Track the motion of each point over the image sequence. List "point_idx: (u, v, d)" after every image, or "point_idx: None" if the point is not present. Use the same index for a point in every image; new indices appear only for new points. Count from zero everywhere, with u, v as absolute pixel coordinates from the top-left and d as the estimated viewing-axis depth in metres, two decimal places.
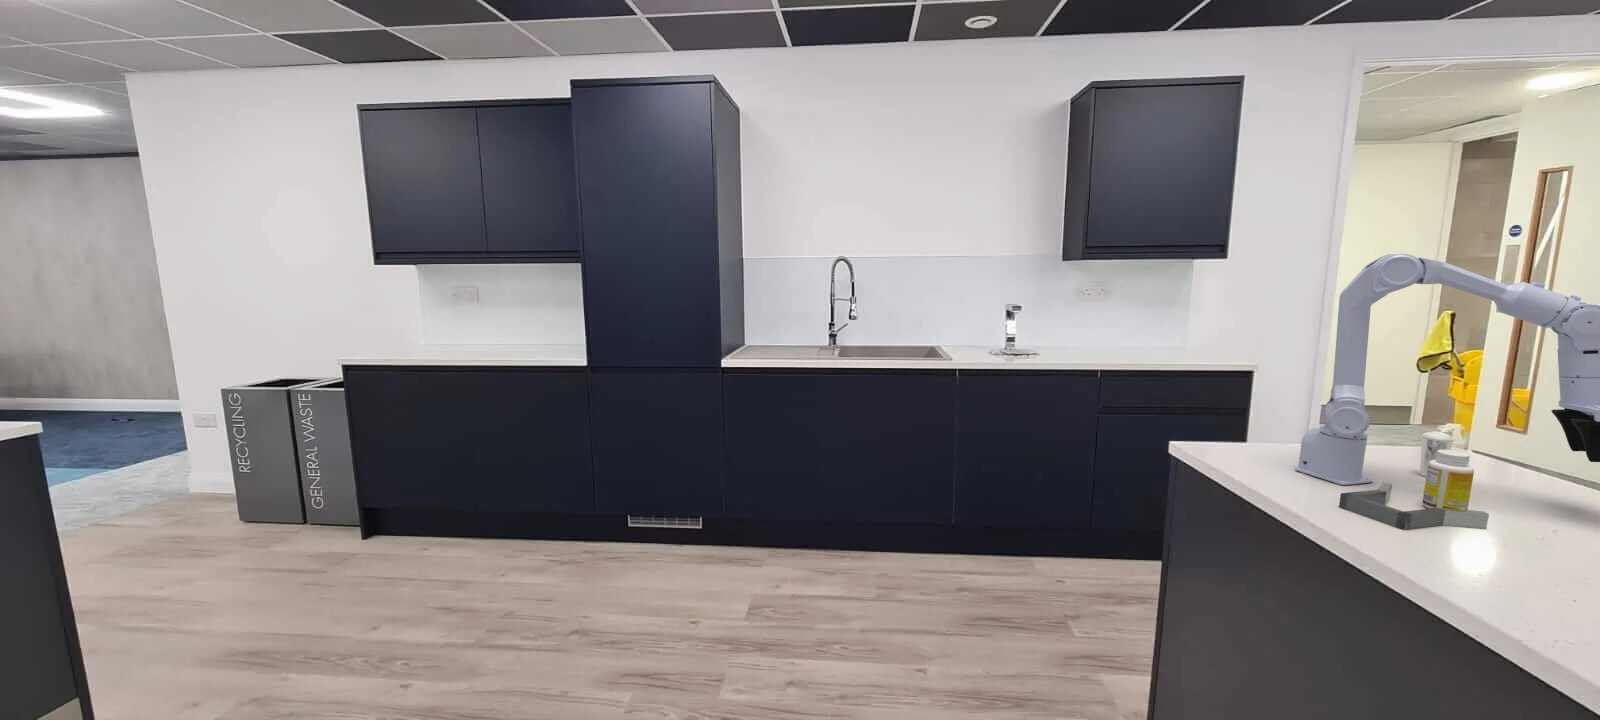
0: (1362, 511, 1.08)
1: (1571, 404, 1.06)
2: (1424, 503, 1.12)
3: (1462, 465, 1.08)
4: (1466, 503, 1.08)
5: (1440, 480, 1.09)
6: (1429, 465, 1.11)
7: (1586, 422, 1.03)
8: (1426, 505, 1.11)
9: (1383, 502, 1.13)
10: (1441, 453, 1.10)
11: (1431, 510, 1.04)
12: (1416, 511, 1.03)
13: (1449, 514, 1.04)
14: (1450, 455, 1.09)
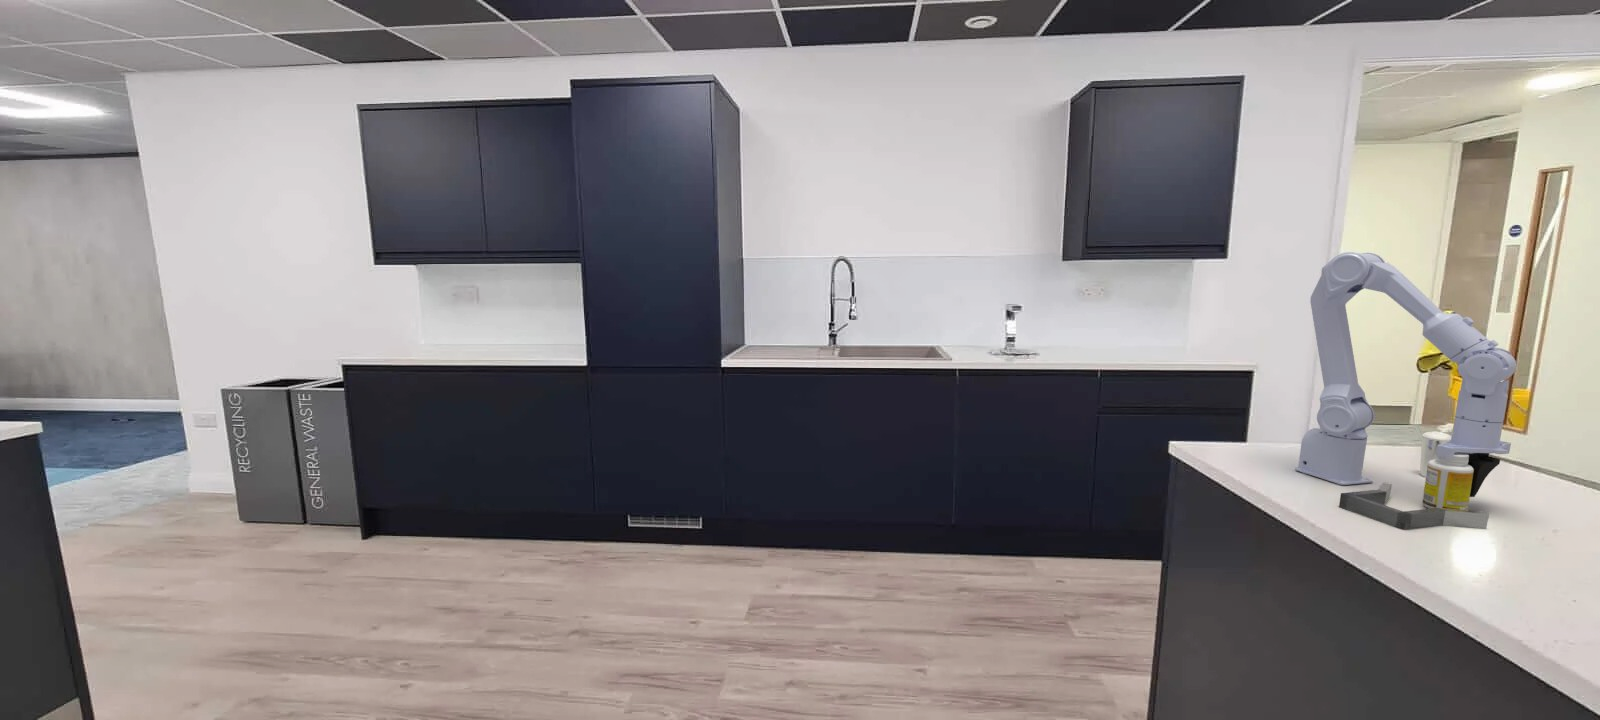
0: (1362, 511, 1.08)
1: (1449, 441, 1.12)
2: (1424, 503, 1.12)
3: (1461, 465, 1.08)
4: (1466, 503, 1.08)
5: (1439, 481, 1.09)
6: (1428, 465, 1.11)
7: None
8: (1426, 505, 1.11)
9: (1383, 502, 1.13)
10: None
11: (1431, 510, 1.04)
12: (1416, 511, 1.03)
13: (1449, 514, 1.04)
14: None
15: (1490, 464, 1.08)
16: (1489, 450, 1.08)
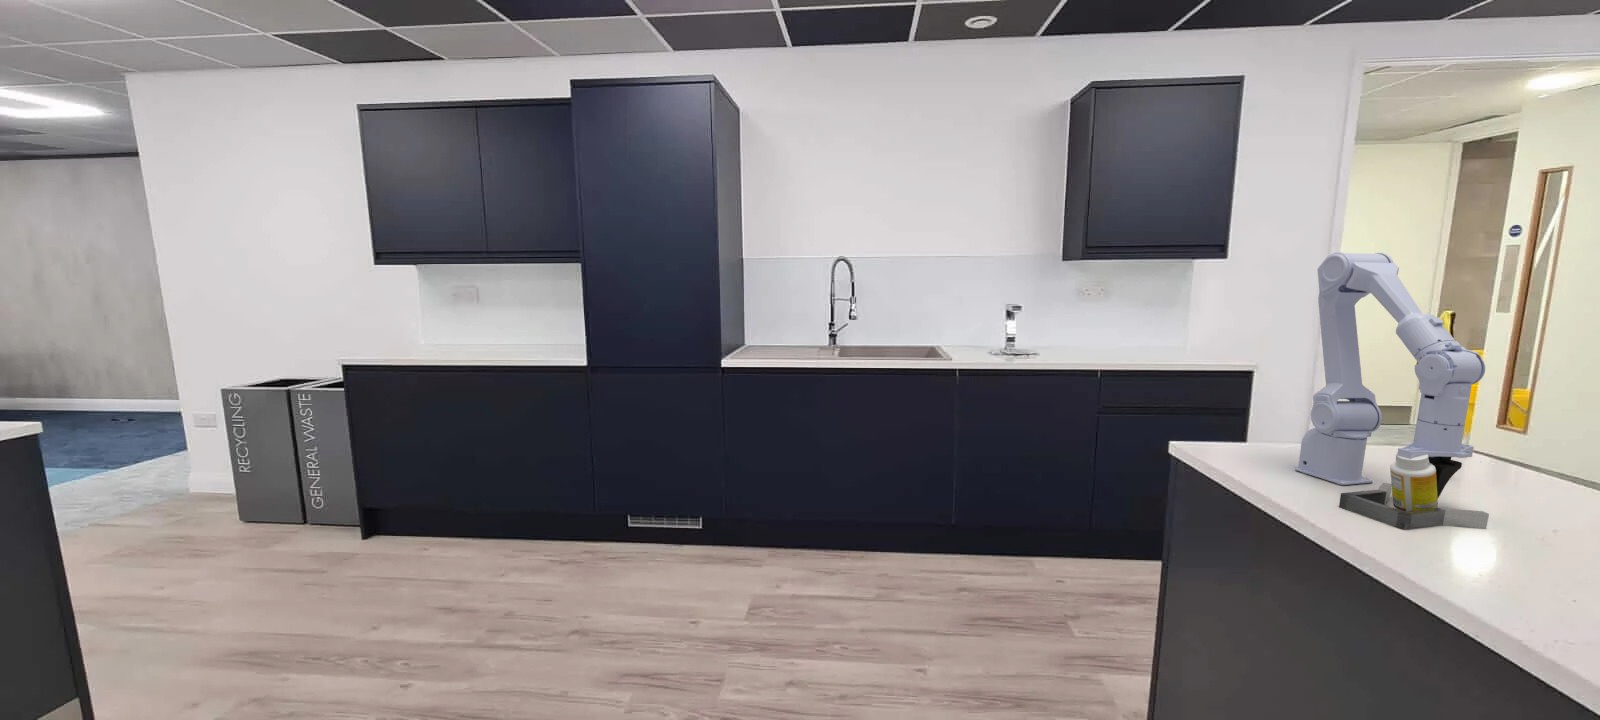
0: (1362, 511, 1.08)
1: (1411, 444, 1.10)
2: (1394, 506, 1.10)
3: (1422, 467, 1.05)
4: (1435, 503, 1.06)
5: (1403, 486, 1.07)
6: (1391, 469, 1.09)
7: None
8: (1396, 508, 1.09)
9: (1383, 502, 1.13)
10: (1399, 458, 1.07)
11: (1431, 510, 1.04)
12: (1416, 511, 1.03)
13: (1449, 514, 1.04)
14: (1408, 460, 1.06)
15: (1451, 467, 1.06)
16: (1450, 454, 1.05)
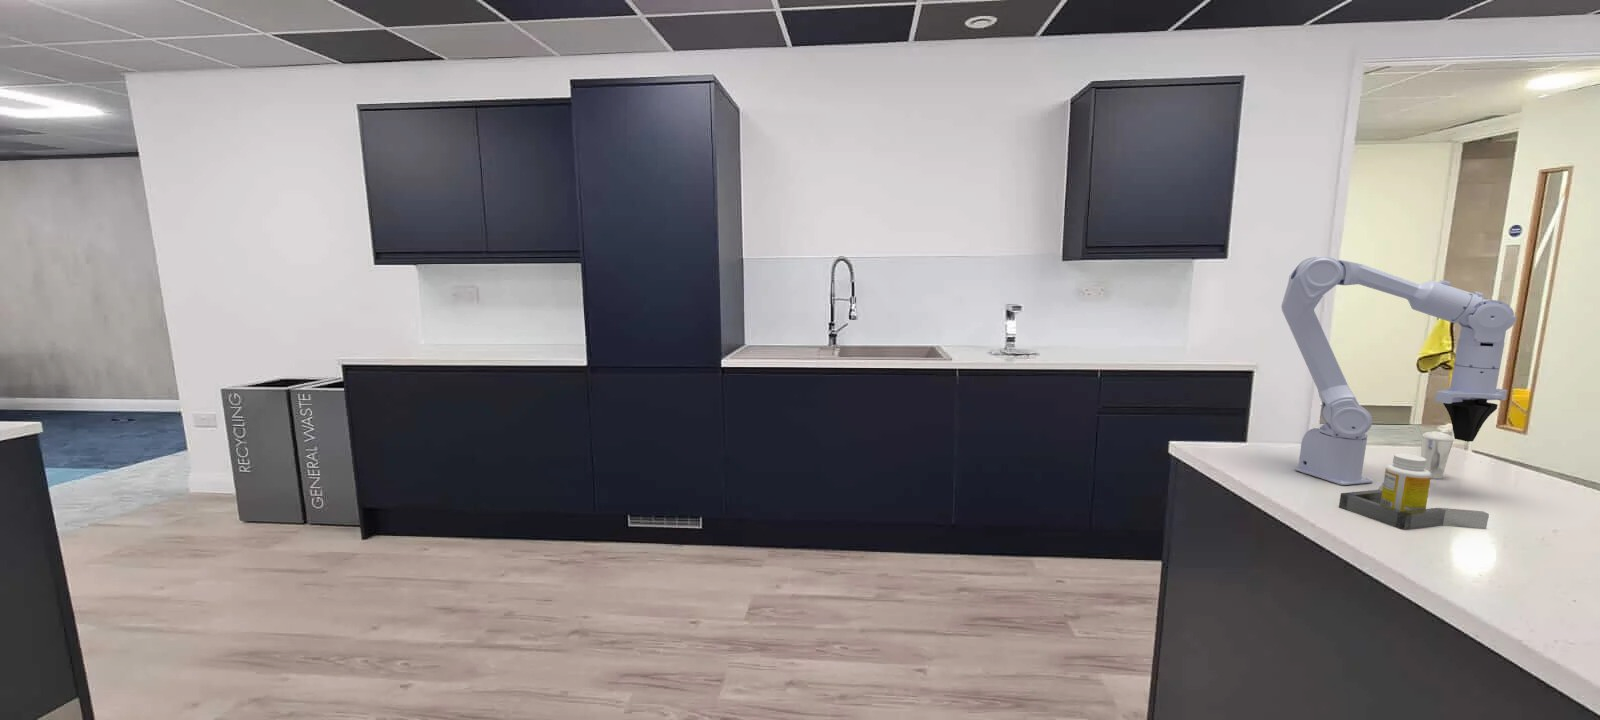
0: (1362, 511, 1.08)
1: (1448, 388, 1.17)
2: None
3: (1419, 470, 1.05)
4: (1423, 508, 1.05)
5: (1397, 485, 1.06)
6: (1386, 469, 1.08)
7: None
8: None
9: None
10: (1398, 457, 1.07)
11: (1431, 510, 1.04)
12: (1416, 511, 1.03)
13: (1449, 514, 1.04)
14: (1407, 459, 1.06)
15: (1486, 408, 1.13)
16: (1486, 395, 1.13)
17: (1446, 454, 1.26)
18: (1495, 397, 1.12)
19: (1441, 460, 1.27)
